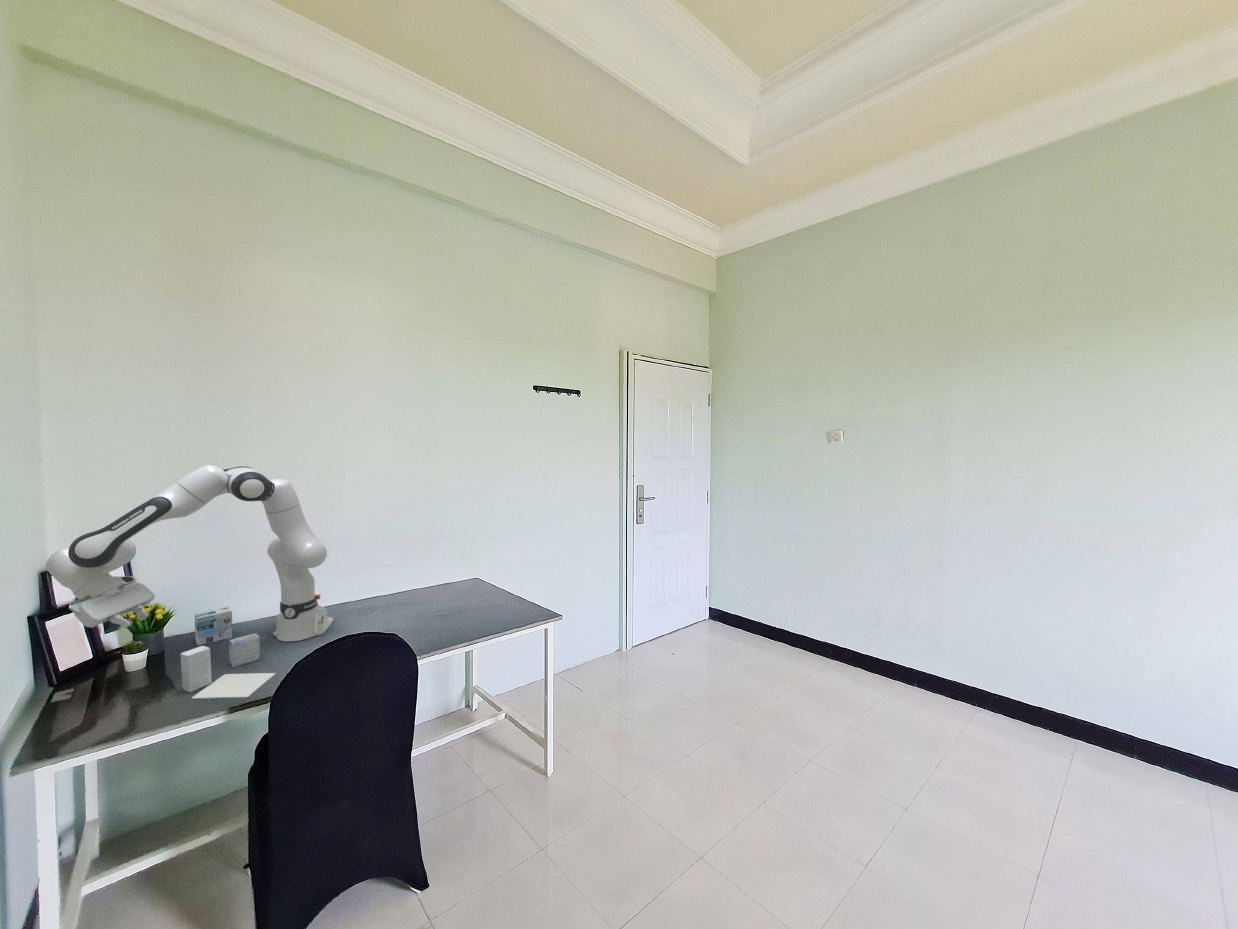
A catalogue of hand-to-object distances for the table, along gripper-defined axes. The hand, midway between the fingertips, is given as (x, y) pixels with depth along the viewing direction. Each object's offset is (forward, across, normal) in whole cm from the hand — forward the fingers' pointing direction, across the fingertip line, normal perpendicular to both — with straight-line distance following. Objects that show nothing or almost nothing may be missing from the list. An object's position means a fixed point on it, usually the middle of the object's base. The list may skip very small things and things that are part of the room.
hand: (137, 622), depth 146 cm
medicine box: (+30, +16, +1) cm, 34 cm away
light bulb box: (+13, +35, +17) cm, 41 cm away
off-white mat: (+35, 0, -5) cm, 35 cm away
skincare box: (+27, 0, +4) cm, 27 cm away
